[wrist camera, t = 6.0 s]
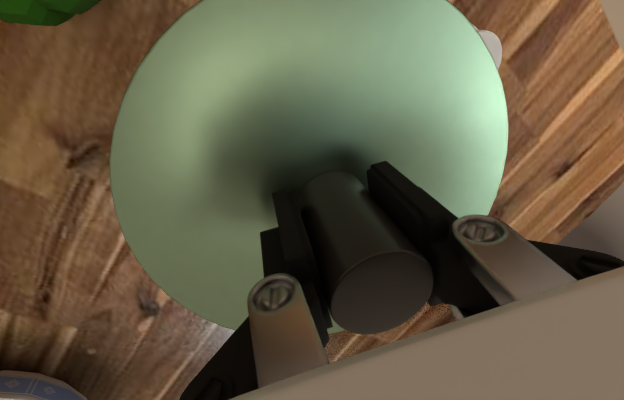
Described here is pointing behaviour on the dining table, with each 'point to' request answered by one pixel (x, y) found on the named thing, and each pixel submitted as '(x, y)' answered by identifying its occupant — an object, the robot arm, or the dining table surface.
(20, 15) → the bell pepper
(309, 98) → the lid
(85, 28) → the dining table surface
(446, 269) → the robot arm
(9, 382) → the ramen bowl
